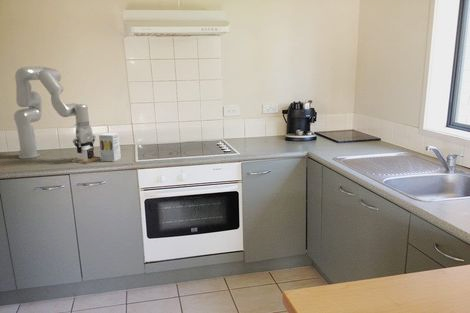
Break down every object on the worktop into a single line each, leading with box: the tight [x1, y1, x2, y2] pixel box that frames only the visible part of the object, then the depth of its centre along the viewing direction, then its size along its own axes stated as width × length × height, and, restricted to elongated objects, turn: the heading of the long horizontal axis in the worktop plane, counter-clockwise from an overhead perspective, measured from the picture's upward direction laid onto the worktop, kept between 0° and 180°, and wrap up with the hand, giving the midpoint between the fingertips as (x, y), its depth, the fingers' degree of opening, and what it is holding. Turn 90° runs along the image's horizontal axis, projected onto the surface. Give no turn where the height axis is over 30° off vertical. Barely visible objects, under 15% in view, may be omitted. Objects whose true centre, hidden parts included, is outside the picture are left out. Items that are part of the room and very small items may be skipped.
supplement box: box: [98, 132, 122, 163], centre depth 259 cm, size 10×9×17 cm
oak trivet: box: [71, 155, 101, 164], centre depth 260 cm, size 12×12×2 cm
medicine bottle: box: [77, 142, 95, 160], centre depth 259 cm, size 7×7×12 cm
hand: (85, 151), depth 259 cm, fingers open, 9 cm apart
